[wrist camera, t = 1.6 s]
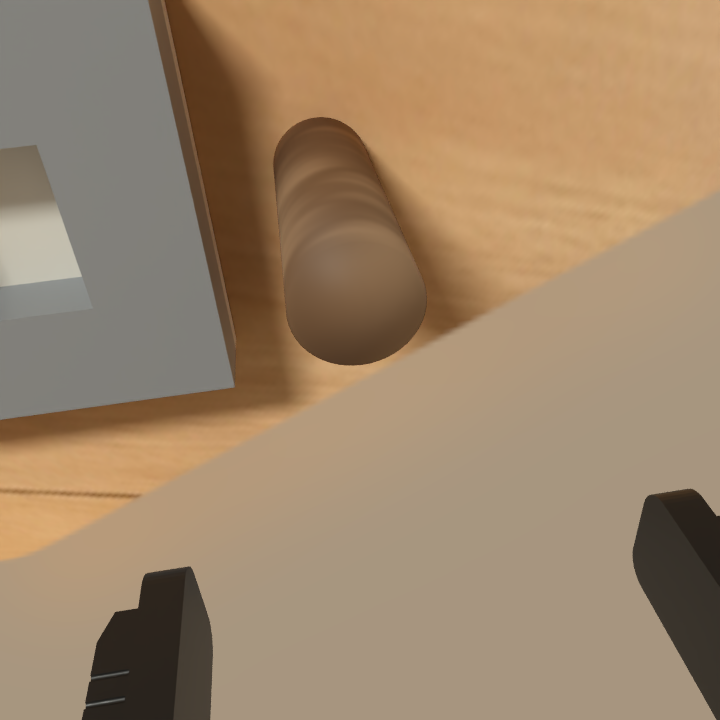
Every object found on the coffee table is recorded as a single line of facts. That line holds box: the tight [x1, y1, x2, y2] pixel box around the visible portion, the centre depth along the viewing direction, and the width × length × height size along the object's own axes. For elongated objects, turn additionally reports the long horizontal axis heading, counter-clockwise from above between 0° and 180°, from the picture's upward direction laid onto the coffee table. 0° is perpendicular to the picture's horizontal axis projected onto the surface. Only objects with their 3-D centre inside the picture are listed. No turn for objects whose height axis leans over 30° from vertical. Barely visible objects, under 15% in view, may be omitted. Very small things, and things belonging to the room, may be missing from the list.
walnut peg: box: [273, 117, 427, 365], centre depth 24 cm, size 4×4×12 cm
